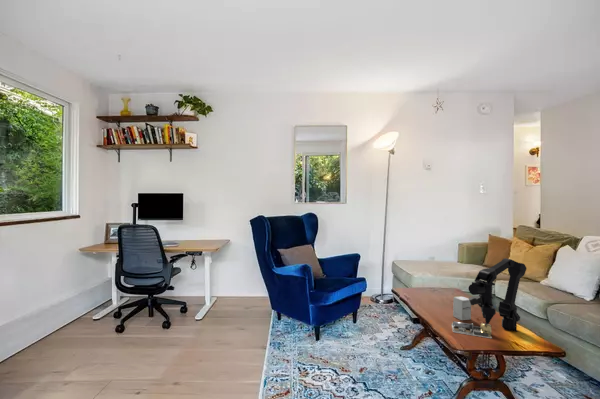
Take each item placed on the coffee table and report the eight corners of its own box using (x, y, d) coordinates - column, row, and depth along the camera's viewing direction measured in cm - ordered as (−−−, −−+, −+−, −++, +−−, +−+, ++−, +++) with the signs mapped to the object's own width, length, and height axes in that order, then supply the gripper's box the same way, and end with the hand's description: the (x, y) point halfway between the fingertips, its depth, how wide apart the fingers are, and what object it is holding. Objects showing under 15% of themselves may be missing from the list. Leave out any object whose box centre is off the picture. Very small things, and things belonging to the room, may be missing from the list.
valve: (490, 331, 172) (490, 321, 172) (492, 335, 167) (492, 325, 167) (479, 330, 174) (479, 320, 174) (481, 333, 169) (481, 323, 169)
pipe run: (487, 329, 175) (488, 322, 175) (492, 338, 164) (492, 330, 164) (451, 324, 183) (451, 316, 183) (452, 332, 172) (453, 324, 172)
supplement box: (461, 320, 188) (462, 300, 188) (452, 316, 195) (453, 296, 195) (471, 319, 190) (471, 299, 190) (462, 315, 197) (462, 295, 197)
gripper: (467, 287, 182) (467, 312, 182) (472, 295, 165) (471, 324, 165) (489, 289, 178) (488, 316, 178) (496, 298, 161) (495, 328, 161)
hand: (485, 320), depth 170 cm, fingers open, 9 cm apart
